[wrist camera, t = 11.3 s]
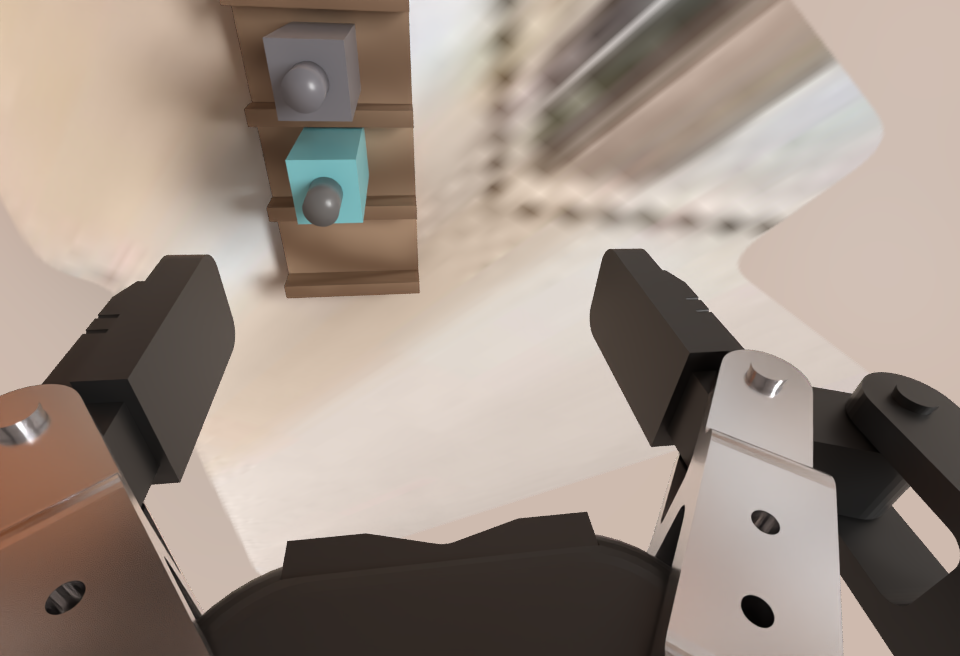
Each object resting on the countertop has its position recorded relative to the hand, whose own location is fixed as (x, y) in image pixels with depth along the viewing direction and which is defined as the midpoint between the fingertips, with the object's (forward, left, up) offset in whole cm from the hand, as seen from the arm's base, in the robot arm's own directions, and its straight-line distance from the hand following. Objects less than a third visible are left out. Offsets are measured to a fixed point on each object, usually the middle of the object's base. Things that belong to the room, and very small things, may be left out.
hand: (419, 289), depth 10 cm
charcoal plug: (-1, -4, -26) cm, 26 cm away
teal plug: (+5, -4, -26) cm, 27 cm away
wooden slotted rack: (+5, -4, -27) cm, 28 cm away
